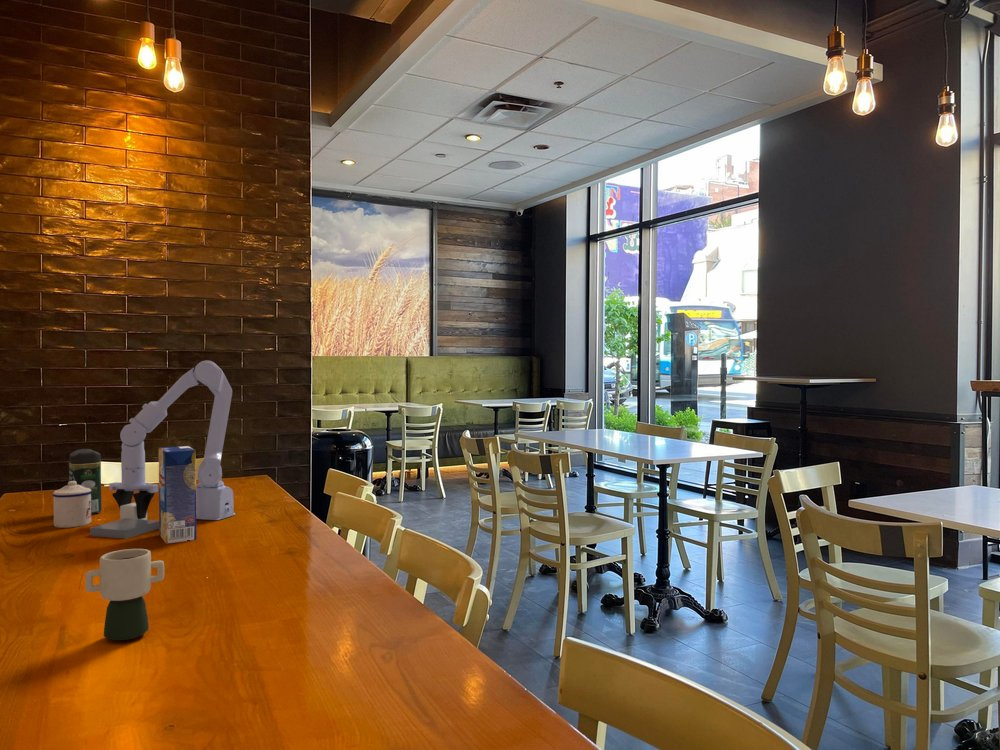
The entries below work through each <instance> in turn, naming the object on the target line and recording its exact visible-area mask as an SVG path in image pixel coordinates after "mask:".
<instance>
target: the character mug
mask: <svg viewBox="0 0 1000 750" xmlns="http://www.w3.org/2000/svg"><path fill="white" fill-rule="evenodd" d="M151 553H152V552H151V550H149V549H146V548H145V549H144V548H130V549H129V548H128V549H119V550H115V551H110V552H107V553H105V554H103V555H101V556H100V557H99V569H92V570H89V571H86V573H85V590H86V592H87V593H95V592H99V594H100V596H101V598H102V599H104V600H107V601H108V605H107V607H106V613H105V620H104V627H103V637H104V638H106V639H108V640H112V641H127V640H131V639H136V638H138V637H140V636H142V635H144V634H145V633H147V632H148V631H149V627H150V626H149V625H150V624H149V616H148V611H147V606H146V600H145V598H144V597H143V596H145V595H148V593H149V592H150V591H151V587H152V583H156V582H160V581H163V580H164V578H165V563H164V561H163V560H155V561H152V554H151ZM153 568H157V572H156V573H157V575H152V569H153ZM97 576H98V577H99V584H94V577H97Z"/></svg>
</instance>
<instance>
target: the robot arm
mask: <svg viewBox="0 0 1000 750" xmlns="http://www.w3.org/2000/svg"><path fill="white" fill-rule="evenodd" d="M199 382H200V383H202V384H203V385H205V386H206V387H208V389H209V390H210V392H211V393H212V394H213V395H214V398H213V399H214V400H213V404H212V410H211V415H210V416H211V417H210V421H209V422H210V423H209V428H208V431H207V432H208V433H207V439H206V445H205V452H204V455H203V460H202V462H201V464H200V465H199V466H198V468H197V480H198V481H199V482H198V483H196V520H206V521H220V520H223V519H227V518H229V517H233V516H235V515H236V513H235V511H234V508H235V507H234V490H233V489H232V488H231V487H229V486H226V485H225V483H224V481H223V480H222V477H223V471H222V470H223V468H222V465H221V463H222V455H223V449H224V443H225V437H226V431H227V425H228V421H229V413H230V408H231V402H232V397H233V389H232V386H231V385H230V383H229V380H228V379H227V377H226V375H225V373H224V372H223V370H222V368H220V367H219V366H218V364H216V363H215V362H214V361H212V360H202V361H200V362H198V363H197V364H196V365H195V367H192V368H191V369H190V370H188V371H187V372H185V373H184V374H182V375H181V376H180V377H179V378H178V380H176V381H175V383H174V384H173V385H172V386H171V387H170V388H169V389H168V390H167V391H166V392H165V393H164V394H163V396H162V397H160V398H159V400H157V401H150V402H149V403H144V404H143V405H142V406H141V408H142V409H141V410H140V411H139V412H138V413H137V414H136V415H134V417H131V418H130V419H129V420H128V421H129V423H128V424H126V425H124V426H123V428H122V429H121V431H120V433H119V434H120V437H119V438H120V440H121V452H120V458H121V460H120V462H121V463H120V464H121V465H120V466H121V468H120V469H121V482H118V481H117V482H116V481H115V482H112V483H108V484H109V489H108V490H109V491H115V492H113V493H112V495H111V496H112V497H113V499H114V500H115V502H116V503H117V505H118V508H119V509H120V506H122V505H126V504H130V503H132V500H133V498H134V503H136V507H137V517H138V519H143V518H145V517H146V513H147V514H148V509H149V507H150V504H151V502H152V499H153V498H154V496H155V493H157V492H158V493H159V484H155V483H150V482H149V483H148V482H146V451H145V441H144V440H145V439H146V437H147V433H152V432H153V430H154V429H156V427H157V426H158V425H159V424H160V423H162V421H163V420H164V419H165V418H166V417H167V416H168V411H167V410H168V408H169V407H170V406H171V405H173V403H174V402H175V401H176V400H178V398H179V397H181V395H183V394H184V393H185V392H186V391H187V390H188V389H189V388H193V387H196V386H198V385H199Z"/></svg>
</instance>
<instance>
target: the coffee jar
mask: <svg viewBox="0 0 1000 750" xmlns="http://www.w3.org/2000/svg"><path fill="white" fill-rule="evenodd" d="M101 457H102V456H101V453H100V452H98V451H95V450H93V449H90V448H82V449H75V451H72V452H71V453H70V454H69V458H68V467H69V468H68V482H69V481H76V482H77V484H76V485H81V486H83V487H85V488H90V489H91V491H92V493H91V516H92V515H94V514H99V513H101V512H102V510H103V507H102V506H103V505H102V504H103V503H102V458H101Z"/></svg>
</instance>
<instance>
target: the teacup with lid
mask: <svg viewBox="0 0 1000 750" xmlns="http://www.w3.org/2000/svg"><path fill="white" fill-rule="evenodd" d="M76 484H77V482H76V481H69V480H68V482H67V485H65V486H63V487H61V488H59V489H57V490H54V491H53V493H52V497H53V526H54V528H58V529H59V528H61V529H67V528H69V529H70V528H77V527H83V526H87V525H89V524H90V523H92V515H91V493H92V491H91V489H90V488H85V487H83V486H81V485H76Z"/></svg>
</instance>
